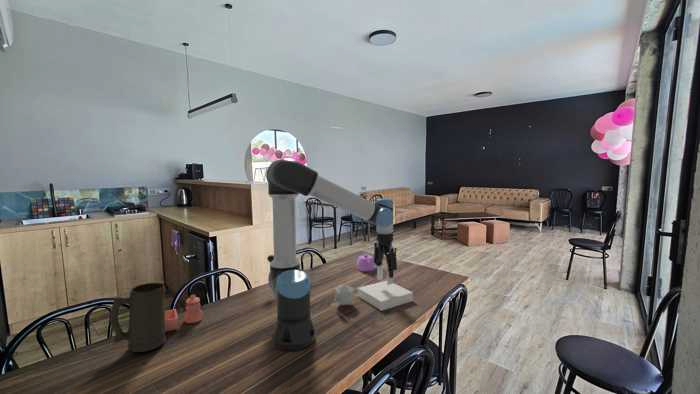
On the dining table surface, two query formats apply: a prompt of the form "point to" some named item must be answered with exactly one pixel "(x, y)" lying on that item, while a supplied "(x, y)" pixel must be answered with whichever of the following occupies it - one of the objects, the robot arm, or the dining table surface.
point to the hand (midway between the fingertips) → (384, 281)
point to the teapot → (365, 263)
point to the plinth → (385, 295)
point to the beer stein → (142, 317)
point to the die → (344, 294)
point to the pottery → (190, 316)
